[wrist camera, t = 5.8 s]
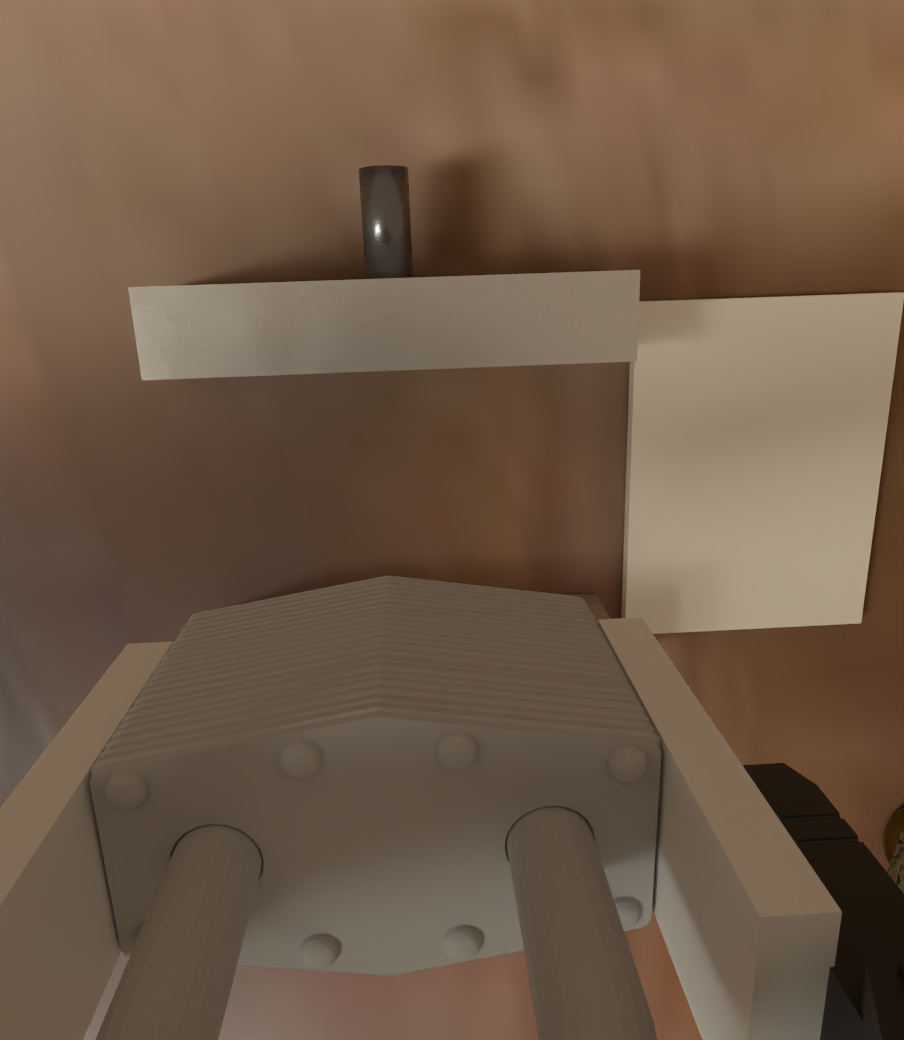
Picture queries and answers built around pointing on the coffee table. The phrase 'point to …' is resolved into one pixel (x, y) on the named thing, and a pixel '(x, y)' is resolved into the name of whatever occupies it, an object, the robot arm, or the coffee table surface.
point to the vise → (387, 316)
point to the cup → (895, 847)
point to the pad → (755, 459)
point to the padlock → (382, 803)
